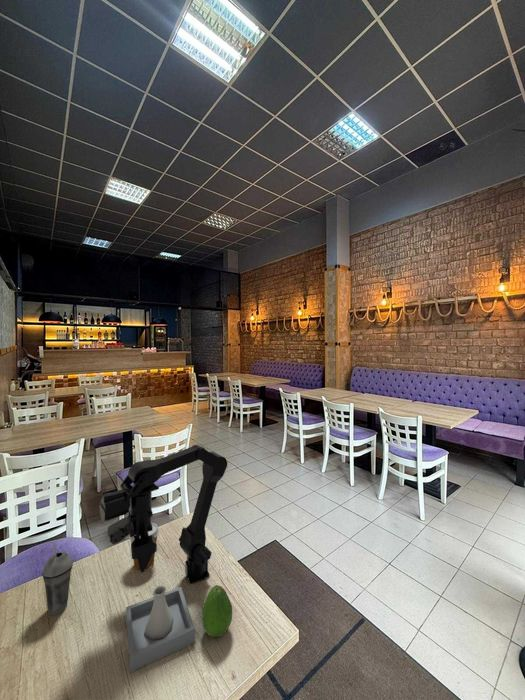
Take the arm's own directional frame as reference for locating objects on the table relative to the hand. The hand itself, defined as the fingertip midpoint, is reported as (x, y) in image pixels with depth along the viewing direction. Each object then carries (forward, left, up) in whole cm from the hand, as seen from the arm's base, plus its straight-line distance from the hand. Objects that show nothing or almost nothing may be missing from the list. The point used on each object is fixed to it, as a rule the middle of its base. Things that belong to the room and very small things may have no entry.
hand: (140, 561), depth 86 cm
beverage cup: (+21, -10, -13) cm, 27 cm away
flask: (-4, +10, -12) cm, 17 cm away
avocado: (-17, +18, -13) cm, 28 cm away
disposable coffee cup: (-3, -17, -13) cm, 22 cm away
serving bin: (-4, +10, -13) cm, 17 cm away
